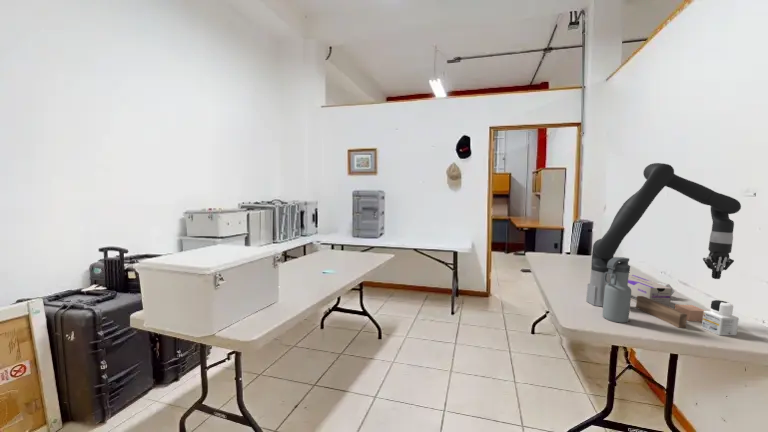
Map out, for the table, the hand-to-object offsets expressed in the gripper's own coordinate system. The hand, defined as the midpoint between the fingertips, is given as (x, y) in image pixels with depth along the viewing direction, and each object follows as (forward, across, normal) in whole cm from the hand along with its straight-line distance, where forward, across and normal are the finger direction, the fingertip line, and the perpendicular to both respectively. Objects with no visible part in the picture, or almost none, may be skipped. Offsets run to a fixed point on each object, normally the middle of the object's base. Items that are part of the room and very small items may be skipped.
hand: (715, 278), depth 158 cm
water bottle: (+19, -49, -4) cm, 53 cm away
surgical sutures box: (+19, -15, +24) cm, 34 cm away
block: (+19, -10, 0) cm, 22 cm away
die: (+19, +3, +30) cm, 36 cm away
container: (+19, -12, -15) cm, 27 cm away
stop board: (+19, -25, 0) cm, 31 cm away
